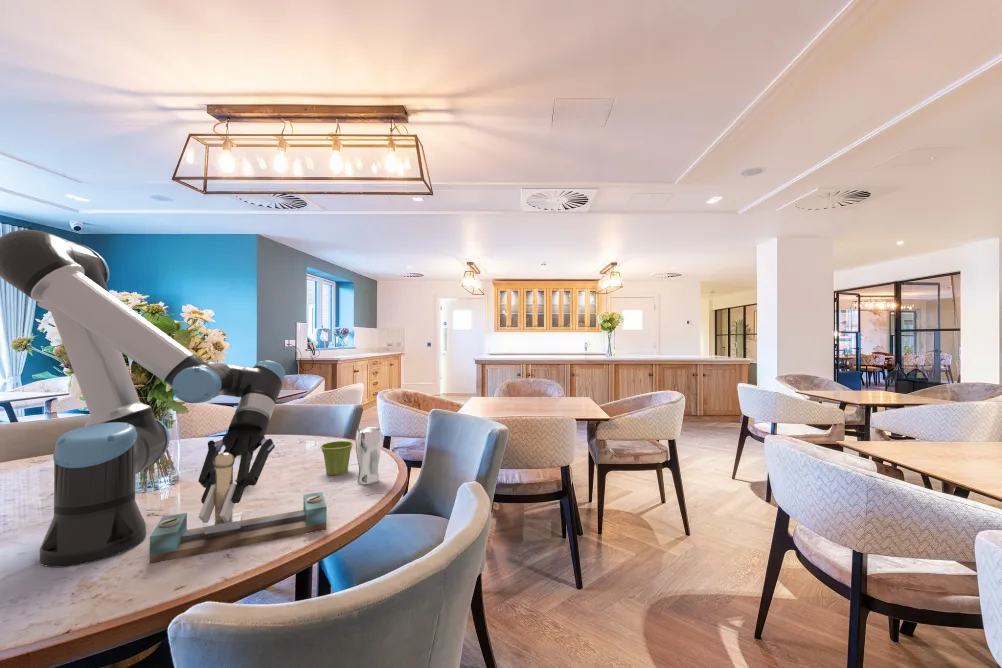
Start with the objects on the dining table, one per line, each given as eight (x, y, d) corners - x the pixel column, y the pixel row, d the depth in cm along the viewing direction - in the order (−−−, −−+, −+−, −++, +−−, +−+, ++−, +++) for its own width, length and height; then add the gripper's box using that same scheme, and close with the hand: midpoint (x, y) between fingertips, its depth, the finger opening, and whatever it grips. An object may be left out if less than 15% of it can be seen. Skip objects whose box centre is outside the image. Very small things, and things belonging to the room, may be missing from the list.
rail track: (149, 564, 78) (149, 533, 78) (162, 541, 86) (162, 513, 86) (326, 529, 92) (326, 503, 92) (322, 513, 100) (322, 489, 100)
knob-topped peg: (204, 535, 83) (205, 456, 83) (208, 524, 88) (208, 450, 88) (240, 528, 86) (240, 452, 86) (242, 518, 91) (242, 446, 91)
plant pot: (338, 479, 125) (338, 449, 125) (313, 475, 128) (313, 446, 128) (359, 470, 134) (359, 442, 134) (335, 466, 137) (335, 439, 137)
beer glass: (365, 487, 118) (365, 433, 118) (350, 482, 122) (351, 429, 122) (386, 480, 124) (386, 428, 124) (371, 476, 128) (371, 426, 128)
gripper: (292, 426, 103) (263, 524, 86) (220, 428, 101) (176, 529, 84) (284, 407, 98) (252, 508, 81) (208, 409, 95) (159, 513, 79)
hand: (213, 519), depth 82 cm, fingers closed on knob-topped peg, 3 cm apart
